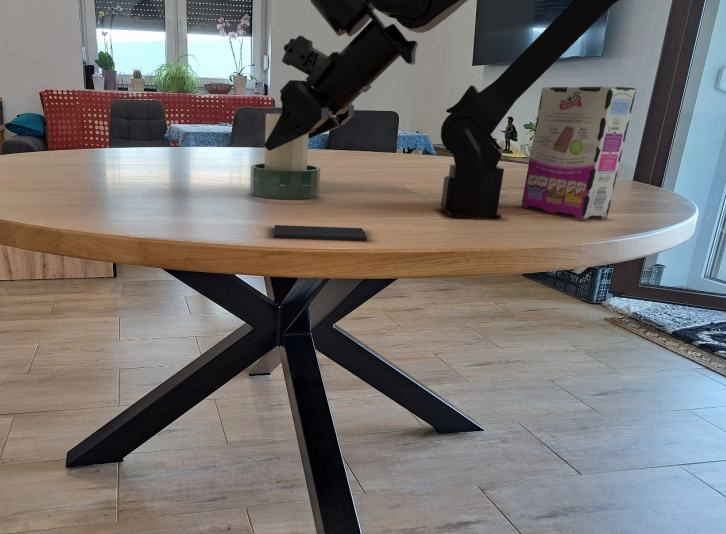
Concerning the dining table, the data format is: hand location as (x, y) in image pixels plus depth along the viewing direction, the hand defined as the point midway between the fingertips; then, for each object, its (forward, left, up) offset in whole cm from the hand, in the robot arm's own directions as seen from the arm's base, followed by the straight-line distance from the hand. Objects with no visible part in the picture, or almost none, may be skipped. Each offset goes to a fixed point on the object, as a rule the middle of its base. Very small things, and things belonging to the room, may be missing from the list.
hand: (278, 145), depth 91 cm
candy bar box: (-40, +5, -7) cm, 41 cm away
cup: (-1, 0, -7) cm, 7 cm away
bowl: (-1, 0, -7) cm, 7 cm away
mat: (-5, +25, -7) cm, 27 cm away
